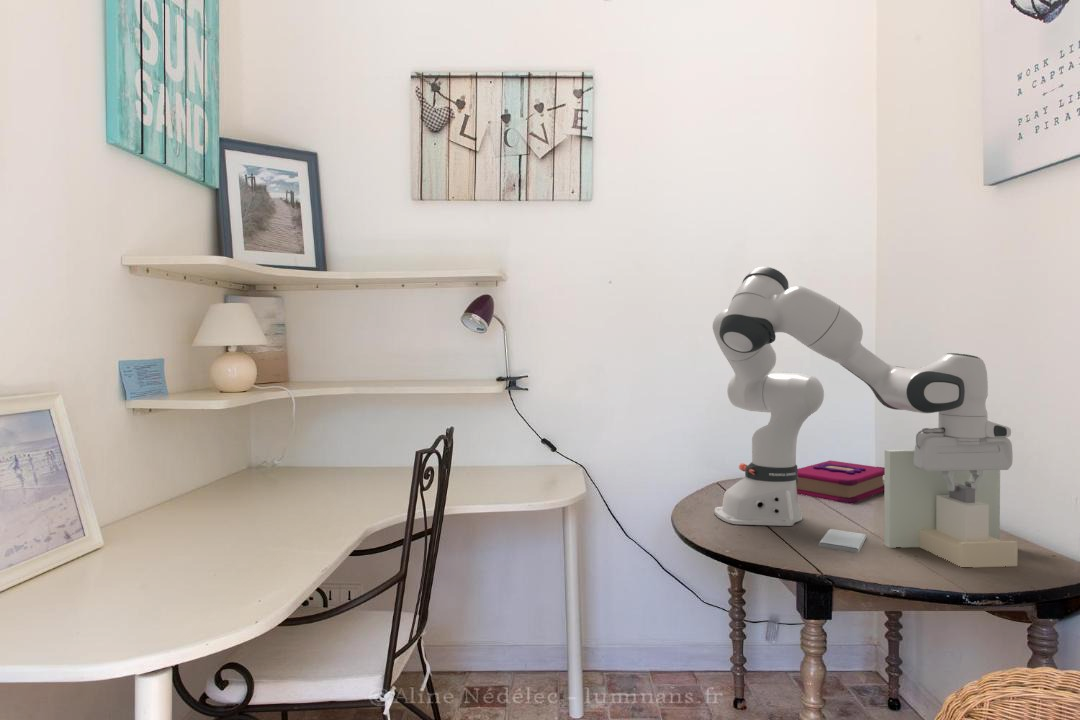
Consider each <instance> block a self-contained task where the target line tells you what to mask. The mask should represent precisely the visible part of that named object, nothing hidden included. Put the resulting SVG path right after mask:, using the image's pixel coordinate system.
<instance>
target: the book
mask: <svg viewBox="0 0 1080 720" xmlns="http://www.w3.org/2000/svg"><path fill="white" fill-rule="evenodd" d="M797 470H798V482H797V485H796V486H797V495H801V494H802V496H806V495H807V496H808V497H811V496H812V497H813V498H817V497H818V498H817V499H822V498H823V499H824V500H827V499H828V501H832V500H833V501H834V502H839V503H841V504H842V503H844V504H848V505H849V504H850V505H852V504H853V505H854V504H855V503H858V502H860V501H862V499H863V500H864V499H867V497H868V498H870V496H871V497H873V496H876V495H878V493H879V494H882V493H884V492H883V491H884V485H885V483H884V479H883V478H884V476H885V466H884V467H883V466H882V467H881V466H872V465H867V464H866V465H864V464H858V463H851V462H843V461H837V460H831V459H830V460H828V461H822V462H819V463H815V464H811V465H806V466H804V467H800V468H797ZM875 494H876V495H875ZM872 495H873V496H872ZM812 497H811V498H812ZM823 499H822V500H823ZM859 500H860V501H859ZM833 501H832V502H833Z"/></svg>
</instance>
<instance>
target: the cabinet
mask: <svg viewBox="0 0 1080 720" xmlns="http://www.w3.org/2000/svg"><path fill="white" fill-rule="evenodd" d="M958 488H959V490H958V491H949V495H936V530H937V531H939V532H941V533H944V534H946V535H948V536H951V537H953V538H955V539H958V540H960V541H962V542H986V541H989V505H987V504H984V503H981V502H978V501H975V489H974V488H970V487H967V486H964V485H961V484H959V487H958Z"/></svg>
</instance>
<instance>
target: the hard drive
mask: <svg viewBox="0 0 1080 720" xmlns="http://www.w3.org/2000/svg"><path fill="white" fill-rule="evenodd" d="M866 538H867V536H866V534H864V533H860V532H853V531H847V530H840V529H833V528H830V529H828V530H827V531H826V533H825V534H824V535H823V537H822V538H821V540H819V543H818V547H820V548H821V547H822V548H826V549H833V550H838V551H845V552H852V553H855V554H859V553H860V552H861V549H862V547H863V545H864V543H865V542H866V541H865V540H866Z"/></svg>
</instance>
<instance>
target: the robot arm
mask: <svg viewBox="0 0 1080 720" xmlns="http://www.w3.org/2000/svg"><path fill="white" fill-rule="evenodd" d="M730 301H731V302H730V303H729V306H728V307H727V308H725V309H722V310H721V311H720V312H719V313H717V315H715V317H714V319H713V321H712V332H713V334H714V337H715V339H716V342H717V345H718V346H719V349H720V350H721V353H722V354H723V355H724V357H725V358H726V360H727V362H728V364H729V365H730V367H731V368H732V370H733V372H734V375H733V376H732V377H731V378H730V380H729V382H728V385H727V396H728V399H729V401H730V403H731V404H732V405H733V407H736V408H740V409H742V410H746V411H749V412H761V413H770V417H769V418H770V419H769V421H768V423H767V424H766V425H763V426H761V427H760V428H758V429H756V431H755V432H754V433H753V434H752V438H751V462H750V463H749V464H748V465H747V464H745V463H744V462H741V463H739V465H738V469H739V470H740V471H742V472H745V473H744V474H745V476H744V477H742V478H741V479H740V480H738V481H737V482H736V483H734V484H733V485H732V486H730V487H729V488H727V489H726V491H725V492H724V494H723V498H722V506H716V507H715V508H714V512H713V513H714V515H715V516H716V517H717V518H719V519H720V520H722V521H723V522H726V523H729V524H731V525H747V526H748V525H749V526H750V525H751V526H753V525H754V526H779V527H780V526H781V527H785V526H787V527H790V526H791V527H792V526H794V525H795V523H798V522H800V521H802V520H803V514H802V511H801V508H800V504H799V503H800V502H799V498H798V494H797V486H796V485H797V482H798V470H797V469H798V465H797V464H796V462H797V461H796V459H797V458H796V457H797V456H796V455H797V441H798V436H799V435H798V434H799V432H800V429H801V428H802V426H803V424H804V423H805V421H806V420H807V419H808V418H809V417H810V416H811V415H813V414H814V413H815V412H817V411H818V410H819V409H820V408H821V406H822V404H823V401H824V397H825V391H824V387H823V385H822V382H821V381H820V380H819V379H818V378H817V377H816V376H813V375H809V374H805V373H801V372H784V371H783V372H780V371H779V372H778V371H773V369H775V366H776V362H777V354H776V351H775V350H774V348H773V346H772V345H771V344H772V343H774V342H775V341H776V336H777V335H776V333H784V334H787V335H790V337H793V338H794V339H796V341H798V342H800V343H801V344H802V345H804V346H806V347H807V348H809V349H810V350H812V351H814V352H816V353H817V354H818V355H821V356H823V357H825V358H827V359H828V360H831V361H834V362H836V364H839V365H840V366H841V367H843V369H846V370H847V371H849V372H850V373H852V375H854V376H855V377H857V378H859V379H860V380H861V381H863V382H864V383H865V384H866V385H867V386H868V387H869V388H870V389H871V391H872V392H873V394H874V396H875V398H876V399H877V400H878V401H879V402H880V403H881V404H882V405H883V407H886V408H889V409H891V410H900V411H908V412H912V413H920V414H934V413H938V425H937V426H938V427H934V428H932V427H931V428H930V427H929V428H928V427H924V428H922V429H921V430H919V431H917V433H916V434H915V435H916V436H915V447H914V449H915V451H914V459H913V464H914V466H915V467H916V468H917V469H919V470H923V471H942V476H943V477H944V479H945V480H946V482H947V490H949V491H958V490H959V488H958V487H959V483H955V481H954V479H953V477H952V476H954V471H970V473H971V474H972V475H971V477H970V479H969V481H965V485H966V486H967V487H970V488H974V489H975V491H976V490H977V483H978V482H979V480H980V479H981V477H982V476H983V470H1000V471H1007V470H1009V469H1010V468H1011V467H1012V465H1013V462H1014V461H1013V458H1014V457H1013V445H1012V441H1011V440H1010V436H1011V434H1012V429H1011V427H1009V426H1005V425H1003V424H999V423H996V422H994V421H989V420H988V418H989V417H988V415H989V413H988V411H987V407H986V400H987V398H988V397H989V396H988V395H989V394H988V393H989V392H988V391H989V385H988V383H989V381H988V379H989V378H988V371H987V366H986V364H985V361H984V360H983V359H982V358H981V357H978V356H977V355H971V354H965V353H959V352H958V353H956V352H955V353H954V352H948V353H944V354H943V355H942V356H941V357H940V358H939V359H936V360H935V361H934V362H932V363H929V364H928V365H927V364H926V365H925V366H922V367H920V368H911V367H904V366H903V367H902V366H896V365H892V364H890V363H889V364H888V363H887V362H886V361H884V360H883V359H881V358H880V357H878V356H877V355H876V354H874V353H873V352H872V351H871V350H869V349H867V348H866V347H865V346H864V345H863V344H862V343H861V342H862V339H863V333H864V332H863V325H862V322H860V321H859V320H858V318H857V317H856V316H854V315H853V314H852V313H851V312H850V311H848V309H845V307H842V306H841V305H839V304H838V303H837V302H835V301H833V300H831V299H829V298H828V297H826V296H824V295H822V294H820V293H818V292H817V291H814V290H812V289H809V288H806V287H804V286H801V285H800V286H799V285H794V286H791V287H789V280H788V279H787V278H786V276H785V274H783V273H782V272H781V271H780V270H777V269H776V268H774V267H769V266H760V267H756V268H753V269H752V270H751V271H749V273H748V274H747V275H745V277H744V278H743V280H742V281H741V284H740V286H739V287H738V288H737V290H736V292H735V293H734V295H733V297H732V298H731V300H730Z"/></svg>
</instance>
